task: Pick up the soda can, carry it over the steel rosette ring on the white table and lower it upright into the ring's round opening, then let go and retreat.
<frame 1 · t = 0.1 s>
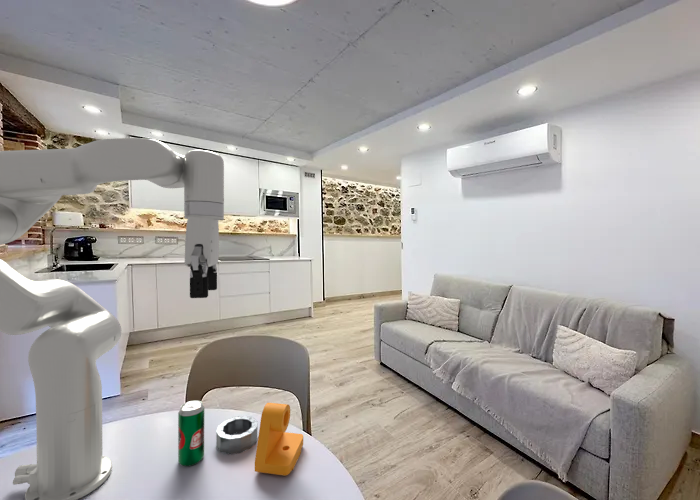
hand: (204, 293, 66), 37 cm above the table, tool pointing down, fingers open, 9 cm apart
soda can: (191, 460, 68), on the table
rosette ring: (237, 441, 74), on the table
bracket: (281, 460, 68), on the table
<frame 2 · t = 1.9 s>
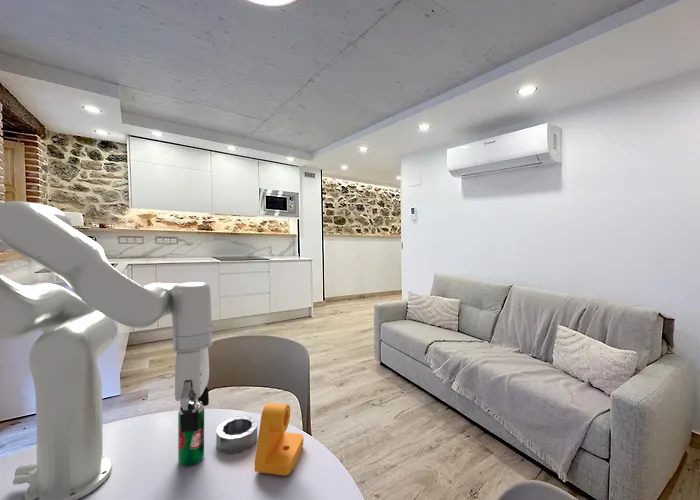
hand: (196, 417, 68), 9 cm above the table, tool pointing down, fingers open, 9 cm apart
nothing on the table moved.
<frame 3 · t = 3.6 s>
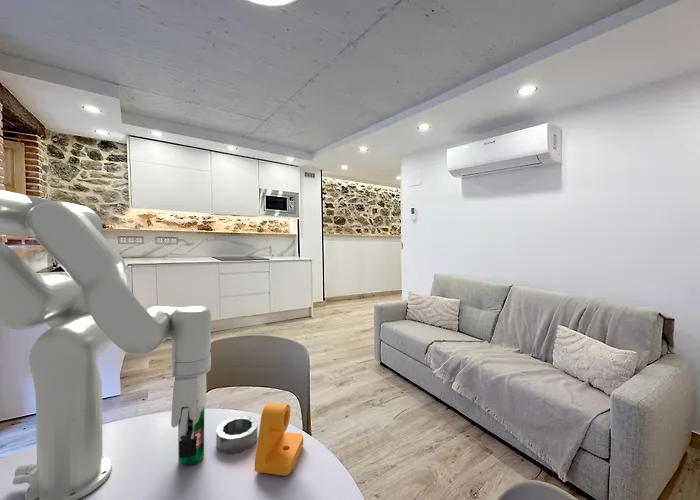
hand: (191, 446, 68), 3 cm above the table, tool pointing down, fingers closed on soda can, 5 cm apart
soda can: (191, 460, 68), on the table, touching gripper
everything else where it was.
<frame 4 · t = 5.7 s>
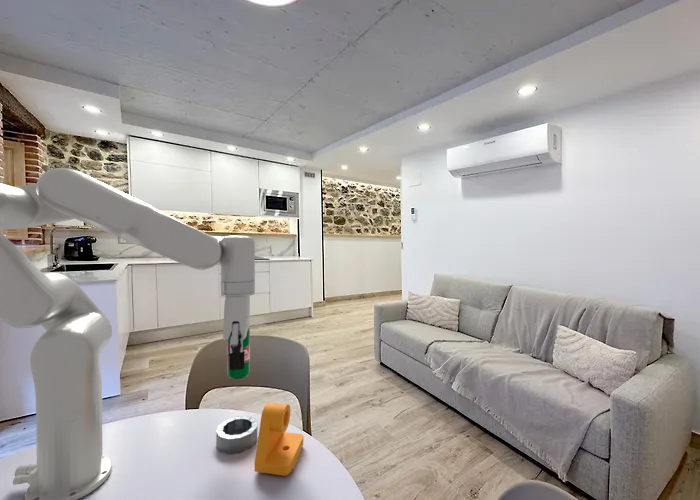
hand: (238, 363, 74), 19 cm above the table, tool pointing down, fingers closed on soda can, 5 cm apart
soda can: (238, 376, 74), point 16 cm above the table, touching gripper
everything else where it was.
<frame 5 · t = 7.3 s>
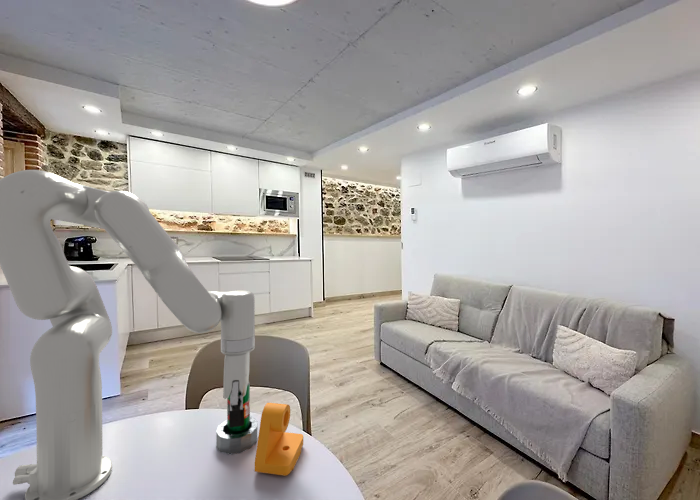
hand: (238, 418, 74), 6 cm above the table, tool pointing down, fingers closed on soda can, 5 cm apart
soda can: (238, 430, 74), point 2 cm above the table, touching gripper
everything else where it was.
when the fingers open (4 cm above the table, at t = 8.3 s): soda can drops 1 cm, resting in rosette ring.
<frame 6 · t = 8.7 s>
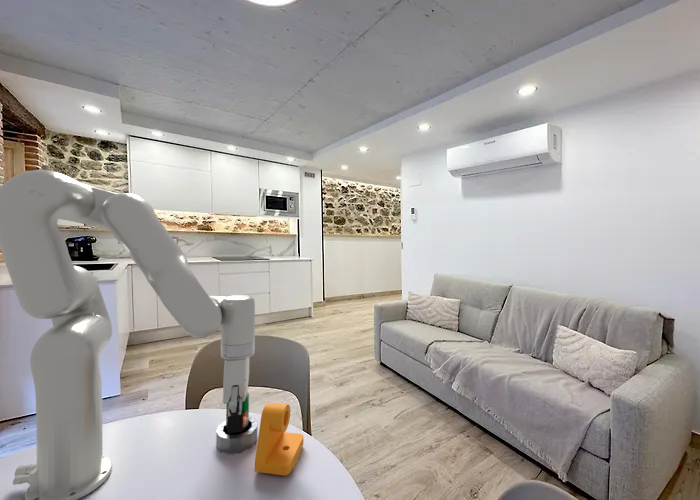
hand: (237, 419, 74), 5 cm above the table, tool pointing down, fingers open, 9 cm apart
soda can: (237, 441, 74), resting in rosette ring
everything else where it was.
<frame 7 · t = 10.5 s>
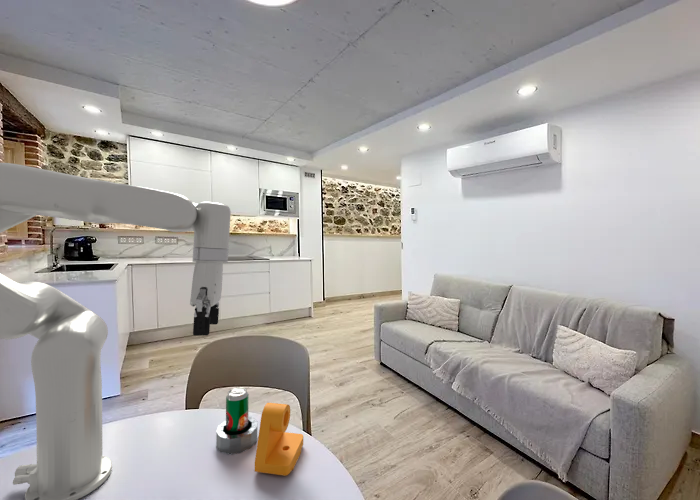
hand: (206, 329, 72), 27 cm above the table, tool pointing down, fingers open, 9 cm apart
nothing on the table moved.
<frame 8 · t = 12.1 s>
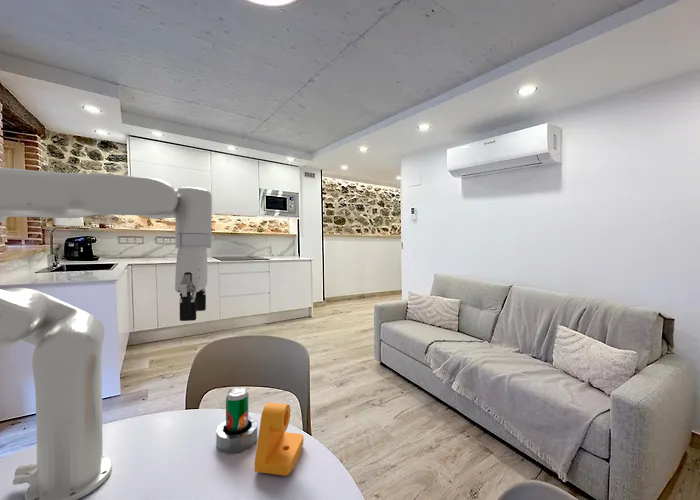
hand: (193, 315, 73), 30 cm above the table, tool pointing down, fingers open, 9 cm apart
nothing on the table moved.
at the end: soda can 0.1 cm from the rosette ring (horizontally); soda can resting in rosette ring; soda can tilted 0° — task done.
